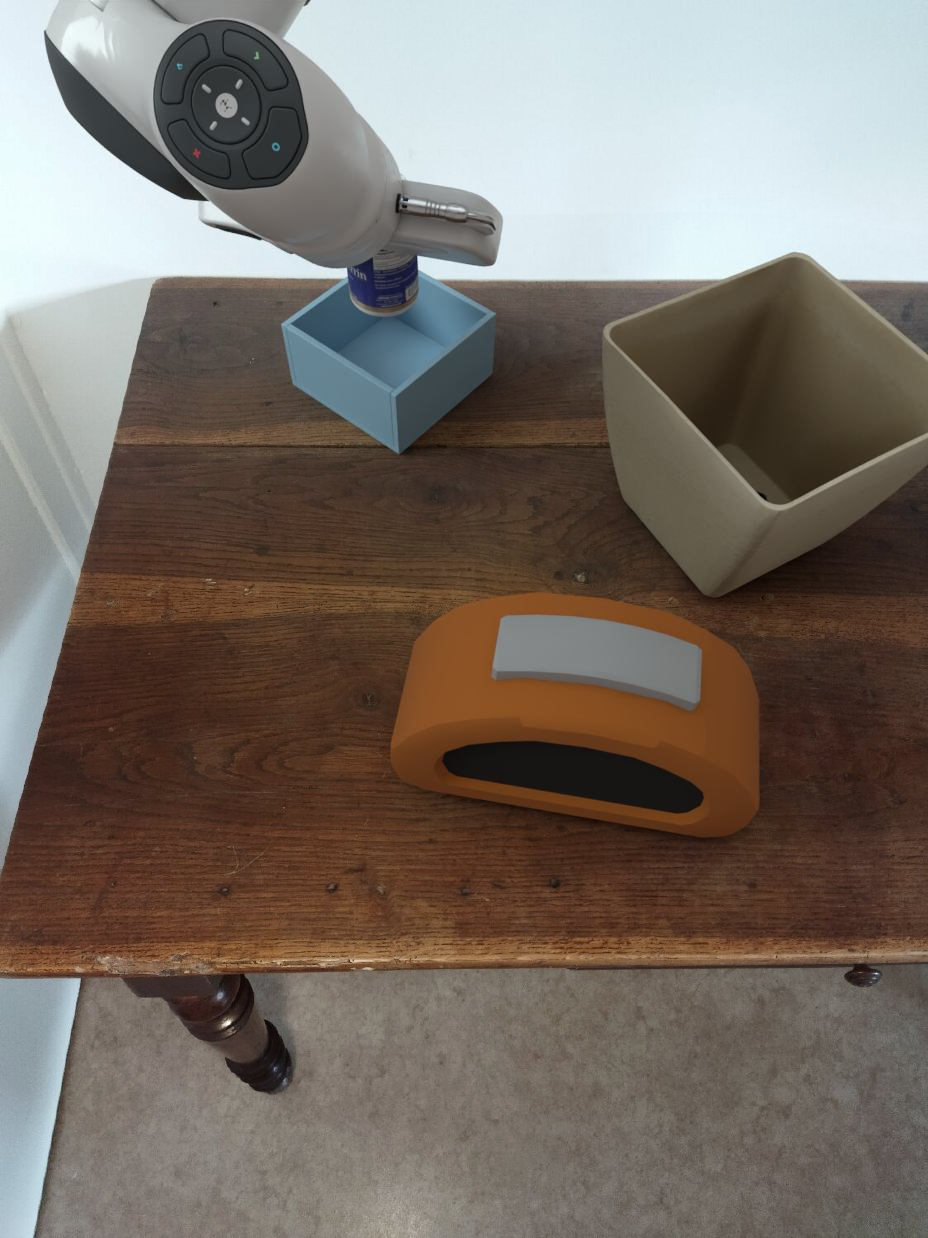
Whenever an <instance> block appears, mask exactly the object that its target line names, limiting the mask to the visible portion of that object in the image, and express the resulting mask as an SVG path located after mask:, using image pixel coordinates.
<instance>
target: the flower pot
mask: <svg viewBox="0 0 928 1238" xmlns="http://www.w3.org/2000/svg"><path fill="white" fill-rule="evenodd" d="M601 344H602V348H601V349H602V352H601V353H602V355H601V357H602V358H601V363H602V364H601V365H602V386H603V387H602V388H603V389H602V390H603V402H604V404H603V405H604V415H605V421H606V430H607V436H608V437H607V438H608V442H609V447H610V454H611V458H612V463H613V467H614V471H615V476H616V481H617V484H618V486H619V491H620V494H621V497H622V499H623V501H624V503H626V505H628V507H629V508H630V509H631V510H632V511H633V512H634V514H635V515H636V516H637V517H638V519H639V520H640V521H641V523H643V525H644V526H645V527H646V528H647V530H649V532H650V533H651V535H653V537H654V538H655V539H656V541H658V542H659V544H660V545H661V546H662V547H663V548H664V550H665V551H666V552H667V553H668V555H670V557H671V558H672V559H673V560H674V562H675V563H676V564H677V565H678V566H679V568H680V569H681V570H682V571H683V572H684V573H685V575H686V576H687V577H688V578H689V579H690V580H691V582H692V583H693V584H694V585H695V586H696V588H697V589H698V590H699V591H700V592H701V593H702V594H703V595H704V596H706V597H708V598H715V599H716V598H720V597H722V596H724V595H727V594H728V593H730V592H732V591H734V590H736V589H738V588H740V587H742V586H744V585H746V584H748V583H750V582H752V581H754V580H755V579H758V578H759V577H761V576H763V575H765V574H767V573H769V572H771V571H773V570H775V569H776V568H777V569H778V568H779V567H780V566H782V565H785V564H787V563H789V562H790V561H793V560H794V559H796V558H798V557H800V556H802V555H804V554H806V553H808V552H810V551H812V550H814V549H816V548H817V547H820V546H822V545H824V544H826V542H828V541H830V540H831V539H832V538H834V537H836V536H837V535H839V534H840V533H842V532H844V531H845V530H846V529H847V528H849V527H850V526H852V525H853V524H854V523H856V522H857V521H858V520H861V518H863V517H865V516H866V515H867V514H869V513H871V511H872V510H874V509H875V508H877V507H878V506H879V505H880V504H881V503H883V502H884V501H886V500H887V499H888V498H890V497H891V496H892V495H894V493H896V492H897V491H899V489H900V488H902V487H903V486H904V485H906V483H908V482H909V481H911V479H912V478H914V477H915V476H916V475H917V474H918V473H920V472H921V471H922V470H923V469H924V468H925V467H927V466H928V354H927V353H926V352H925V351H924V350H923V349H921V348H920V347H919V346H918V345H917V344H915V342H913V341H912V340H911V339H909V338H908V337H907V336H906V335H904V333H902V332H901V330H899V329H897V327H896V326H894V325H893V324H892V323H891V322H890V321H889V320H887V319H885V317H883V315H881V314H880V313H879V312H877V311H876V310H875V309H874V308H872V307H871V305H870V304H868V303H867V302H865V301H864V300H863V299H862V298H861V297H859V296H858V295H857V294H856V293H855V292H853V291H852V289H850V288H849V287H847V285H845V284H844V283H843V282H842V281H840V280H839V279H838V278H837V277H835V275H833V274H832V273H830V272H829V270H827V269H826V268H825V267H824V266H823V265H821V264H820V263H818V261H817V260H815V258H813V257H811V255H809V254H806V253H804V252H798V251H793V252H789V253H787V254H784V255H781V256H779V257H776V258H774V259H771V260H769V261H766V262H764V263H761V264H759V265H756V266H754V267H751V268H748V269H745V270H743V271H740V272H738V273H736V274H733V275H730V276H728V277H726V278H723V279H721V280H718V281H715V282H713V283H710V284H708V285H705V286H703V287H699V288H697V289H694V290H692V291H689V292H687V293H684V294H681V295H679V296H677V297H674V298H671V299H669V300H666V301H664V302H661V303H659V304H658V303H657V304H655V305H653V306H651V307H648V308H645V309H643V310H640V311H637V312H635V313H631V314H630V315H627V316H624V317H622V318H619V319H616V320H613V321H611V322H609V323H607V324H606V325H605V326H604V327H603V329H602V343H601ZM760 494H761V495H763V496H764V498H765V499H764V498H763V497H762V496H760Z"/></svg>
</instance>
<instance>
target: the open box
mask: <svg viewBox="0 0 928 1238" xmlns="http://www.w3.org/2000/svg"><path fill="white" fill-rule="evenodd" d="M418 280H419V294H418V298H417V300H416V302H415V303H414V305H413V306H412V307H411V308H410V309H409V310H407V311H406V312H404V313H402V314H399V315H396V316H391V317H377V316H372V315H369V314H366V313H364V312H362V311H361V310H359V309H358V308H357V307H356V306H355V305H354V303H353V302H352V300H351V297H350V291H349V283H348V276H346V277H344V278H343V279H342V280H340V281H339V282H337V283H336V284H335V285H333V286H332V287H330V288H329V289H328V290H326V291H325V292H324V293H322V294H321V295H319V296H318V297H317V298H315V299H314V300H312V301H311V302H310V303H308V304H307V305H305V306H304V307H303V308H302V309H300V310H299V311H297V312H296V313H294V314H293V315H291V316H290V317H289V318H287V319H286V320H284V321H283V322H282V323H281V324H280V327H281V331H282V336H283V341H284V347H285V352H286V357H287V363H288V367H289V373H290V377H291V382H292V385H293V386H294V387H296V388H298V389H299V390H301V391H302V392H303V393H305V394H307V395H308V396H309V397H311V398H312V399H314V400H316V401H317V402H319V403H320V404H322V405H323V406H324V407H326V408H328V409H329V410H331V411H332V412H334V413H335V414H337V415H338V416H340V417H342V418H343V419H345V420H346V421H347V422H349V423H350V424H352V425H354V426H355V427H357V428H358V429H360V430H361V431H363V432H364V433H366V434H367V435H369V436H370V437H372V438H373V439H375V440H376V441H378V442H379V443H380V444H382V445H384V446H386V447H387V448H389V449H390V450H392V451H393V452H394V453H396V454H397V455H401V454H402V453H403V452H404V451H405V450H406V449H408V448H409V447H410V446H411V445H412V444H413V443H415V442H416V441H417V440H418V439H419V438H420V437H421V436H423V435H424V434H425V433H426V432H427V431H428V430H430V429H431V428H432V427H433V426H434V425H436V423H437V422H439V421H440V420H441V419H442V418H443V417H445V416H446V415H447V414H448V413H449V412H450V411H451V410H452V409H454V408H455V407H456V406H457V405H458V404H459V403H461V402H462V401H464V400H465V398H466V397H468V396H469V395H470V394H471V393H472V392H473V391H475V389H477V388H478V387H479V386H481V384H482V383H484V382H485V381H486V380H487V379H488V378H489V377H491V376H492V375H493V371H494V370H493V369H494V358H495V357H494V353H495V339H496V336H495V335H496V324H497V313H496V312H494V311H492V310H490V309H489V308H487V307H485V306H483V305H482V304H481V303H479V302H476V301H475V300H473V299H471V298H470V297H468V296H466V295H464V294H463V293H461V292H459V291H457V290H455V289H454V288H452V287H450V286H448V285H447V284H444V283H443V282H442V281H440V280H437V279H436V278H434V277H433V276H431V275H429V274H427V273H425V272H424V271H422V270H420V269H418Z"/></svg>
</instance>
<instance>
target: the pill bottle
mask: <svg viewBox="0 0 928 1238" xmlns="http://www.w3.org/2000/svg"><path fill="white" fill-rule="evenodd" d="M400 175H401V179H402V180H407V178H406V177H405V176H404V175H403V174H402V173H401V172H400ZM418 257H419V256H416V255H410V254H404V253H399V252H393V251H387V250H380V251H379V252H378V253H377V254H376V255H374V256H373V257H372V258H370V259H369V260H367V261H365V262H363V263H361V264H359V265H356V266H352V267H348V268H346V272H347V273H346V274H347V277H348V283H349V291H350V297H351V300H352V302H353V303H354V305H355V306H356V307H357V308H358V309H359V310H361V311H362V312H364V313H366V314H369V315H372V316H377V317H391V316H396V315H399V314H402V313H404V312H406V311H407V310H409V309H410V308H411V307H412V306H413V305H414V303H415V302H416V300H417V298H418V294H419V280H418V270H419V261H418V260H419V259H418Z"/></svg>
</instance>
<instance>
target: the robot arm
mask: <svg viewBox="0 0 928 1238" xmlns="http://www.w3.org/2000/svg"><path fill="white" fill-rule="evenodd" d="M311 1H312V0H58V1H57V4H56V6H55V7H54V9H53V11H52V14H51V16H50V18H49V21H48V23H47V26H46V28H45V29H44V30H43V38H44V45H45V51H46V56H47V60H48V63H49V67H50V70H51V73H52V75H53V78H54V80H55V84H56V87H57V90H58V92H59V95H60V97H61V99H62V102H63V104H64V106H65V108H66V109H67V111H68V113H69V114H70V115H71V117H72V118H73V119H74V120H75V121H76V122H77V123H78V125H80V127H82V129H84V130H85V131H86V133H88V134H89V135H90V136H91V137H92V138H93V139H94V140H95V141H96V142H97V143H98V144H99V145H100V146H102V147H103V149H105V150H107V151H108V152H109V153H110V154H111V155H113V156H114V157H115V158H117V160H119V161H121V163H123V164H125V165H126V166H127V167H129V168H130V169H131V170H133V171H134V172H136V173H137V174H139V175H140V176H142V177H143V178H145V179H146V180H148V181H150V182H151V183H153V184H155V185H156V186H158V187H160V188H162V189H163V190H165V191H167V192H169V193H171V194H173V195H174V196H176V197H179V198H180V199H182V200H187V201H195V202H196V201H197V203H198V204H197V205H198V207H197V208H198V220H199V222H201V223H202V224H204V225H205V226H208V227H210V228H213V229H217V230H219V231H223V232H226V233H229V234H230V233H231V234H236V235H240V236H244V237H247V238H251V239H254V240H257V241H264V242H266V243H269V244H271V245H272V246H274V247H275V248H277V249H278V250H279V249H280V251H282V252H284V253H286V254H289V255H296V256H298V257H300V258H301V259H304V260H305V261H307V262H309V263H311V264H313V265H316V266H318V267H322V268H327V269H336V270H337V269H347V268H348V267H352V266H356V265H359V264H361V263H363V262H365V261H367V260H369V259H370V258H372V257H373V256H374V255H376V254H377V253H378V252H379V251H380V250H387V251H393V252H399V253H404V254H410V255H416V256H418V257H422V258H428V259H434V260H439V261H440V260H441V261H446V262H452V263H457V264H463V265H470V266H476V267H483V268H484V267H485V268H486V267H491V266H493V265H495V264H496V262H497V259H498V255H499V249H500V245H501V240H502V239H501V238H502V233H503V226H504V217H503V215H502V213H501V212H500V211H499V210H498V209H497V207H496V206H494V204H492V203H491V202H490V201H489V200H487V199H486V198H485V197H484V196H481V195H479V194H478V193H475V192H472V191H468V190H465V189H461V188H455V187H451V186H445V185H439V184H433V183H425V182H420V181H414V180H407V179H406V180H402V179H401V175H400V173H401V172H400V169H399V166H398V163H397V161H396V159H395V157H394V155H393V153H392V152H391V151H390V149H389V147H388V146H387V145H386V144H385V142H384V141H383V140H382V138H381V137H380V136H379V135H378V133H377V132H376V131H375V129H373V127H372V126H371V125H370V123H368V121H367V120H366V119H365V117H363V116H362V115H361V114H360V113H359V112H358V111H357V110H356V109H355V107H354V105H353V103H352V101H350V99H349V97H348V96H347V95H346V94H345V92H343V89H341V87H340V86H338V84H337V83H336V82H335V81H334V80H333V79H332V78H331V77H330V76H329V75H328V73H326V72H325V71H324V70H323V69H322V68H321V67H320V66H319V65H318V64H317V63H316V62H314V61H313V60H312V59H311V58H310V57H308V55H306V54H305V53H303V52H302V51H301V50H299V49H298V48H297V47H295V46H294V45H293V44H291V43H290V42H288V41H287V40H286V39H285V37H286V34H287V33H288V32H289V30H290V29H291V27H292V25H294V22H295V21H296V19H297V17H298V16H299V14H300V12H301V11H302V9H303V8H304V7H306V6H308V5H309V3H310V2H311Z"/></svg>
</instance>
